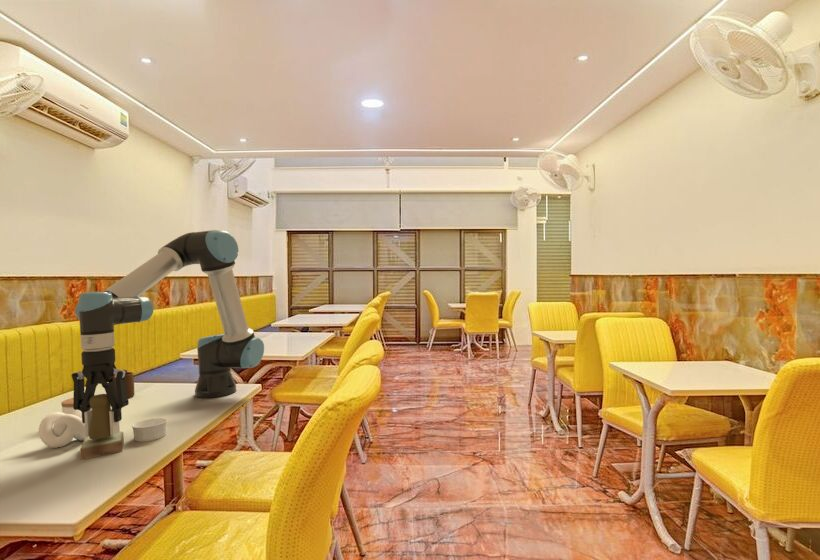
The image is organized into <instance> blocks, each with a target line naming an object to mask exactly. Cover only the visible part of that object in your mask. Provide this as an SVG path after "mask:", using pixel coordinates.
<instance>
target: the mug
mask: <svg viewBox="0 0 820 560" xmlns="http://www.w3.org/2000/svg"><path fill="white" fill-rule="evenodd" d="M113 379H114V381H115V383H114V385H115V388H116V378H115V374H114V375H113ZM126 385H127V393H128V399H131V398H133V397H134V396H135V377H134V372H132V371H127V375H126ZM116 390H117V388H116Z"/></svg>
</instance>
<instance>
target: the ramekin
mask: <svg viewBox="0 0 820 560" xmlns="http://www.w3.org/2000/svg"><path fill="white" fill-rule="evenodd" d="M167 422H168V419H167V418H164V417H157V418H149V419H145V420H141V421H138V422H134V423H133V424H132V425H131V428H132V431H133V438H134V441H136V442H140V443H143V442H145V443H146V442H151V441H155V440H158V439H162V438H163V437H165V435H166V433H167Z"/></svg>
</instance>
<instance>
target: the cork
mask: <svg viewBox="0 0 820 560" xmlns="http://www.w3.org/2000/svg"><path fill="white" fill-rule="evenodd" d="M94 395H95V396H93V397H91V399H90V402H89V403H90V407H91V408H92V417H91V427H90V436H89V438H90V439H101V438H106V437H109V436H112V435H110V417H109V411H111V410H112V407H111V405H110V402H109V399H108V397H107V394H106V393H99V394H94Z"/></svg>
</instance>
